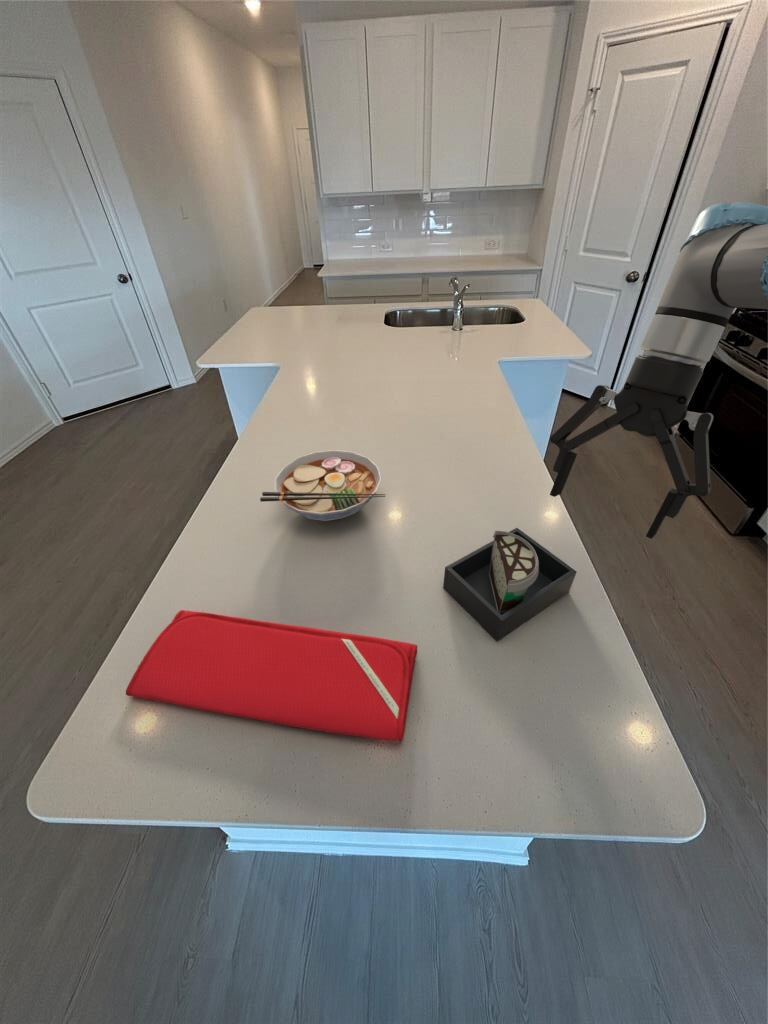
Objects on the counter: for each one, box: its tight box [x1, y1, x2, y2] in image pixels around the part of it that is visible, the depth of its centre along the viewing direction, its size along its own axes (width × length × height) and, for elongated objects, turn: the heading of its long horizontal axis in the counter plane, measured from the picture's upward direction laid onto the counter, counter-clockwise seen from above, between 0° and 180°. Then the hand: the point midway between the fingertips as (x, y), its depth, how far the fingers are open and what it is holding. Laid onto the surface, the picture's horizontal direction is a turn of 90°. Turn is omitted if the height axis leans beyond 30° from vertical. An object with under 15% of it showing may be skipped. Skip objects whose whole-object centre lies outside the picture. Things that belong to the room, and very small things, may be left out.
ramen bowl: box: [259, 449, 386, 522], centre depth 96 cm, size 25×23×8 cm
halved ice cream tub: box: [489, 530, 539, 615], centre depth 74 cm, size 12×6×10 cm, turn 179°
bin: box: [442, 527, 577, 642], centre depth 77 cm, size 14×18×6 cm
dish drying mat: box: [125, 609, 418, 742], centre depth 66 cm, size 16×41×4 cm, turn 79°
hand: (600, 513), depth 62 cm, fingers open, 13 cm apart
